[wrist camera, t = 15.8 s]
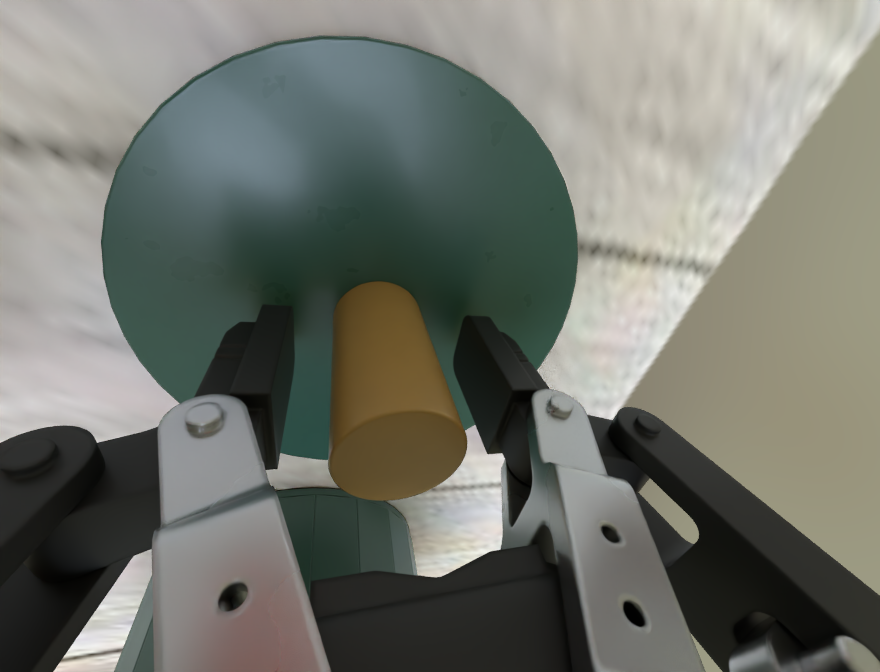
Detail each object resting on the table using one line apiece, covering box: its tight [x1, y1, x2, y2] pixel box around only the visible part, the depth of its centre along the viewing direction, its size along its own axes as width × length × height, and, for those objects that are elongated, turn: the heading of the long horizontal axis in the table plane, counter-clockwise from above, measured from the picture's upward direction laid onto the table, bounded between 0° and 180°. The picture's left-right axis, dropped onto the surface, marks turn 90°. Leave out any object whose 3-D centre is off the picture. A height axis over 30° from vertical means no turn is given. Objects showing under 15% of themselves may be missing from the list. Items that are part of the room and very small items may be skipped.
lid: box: [101, 36, 578, 501], centre depth 10 cm, size 14×14×7 cm
